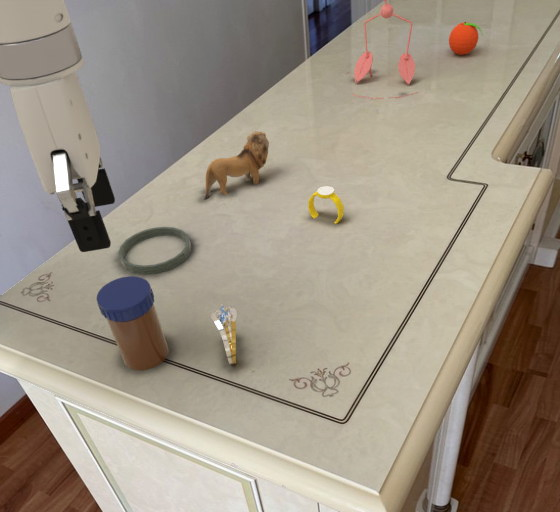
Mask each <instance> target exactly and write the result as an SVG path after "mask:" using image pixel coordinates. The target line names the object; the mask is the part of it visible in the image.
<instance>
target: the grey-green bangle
mask: <svg viewBox="0 0 560 512" xmlns="http://www.w3.org/2000/svg"><path fill="white" fill-rule="evenodd" d="M164 236H169V237H176V238H179V239H181V240H182V241H184V242H185V246H184V248H183V249H182V250H181V251H180V252H179V253H178V254H177V255H175V256H174V257H172V258H170V259H168V260H166V261H162V262H158V263H155V264H147V265H142V264H134V263H131V262H130V261H127V260H126V259H125V257H126V254H127V253H128V252H129V250H130V249H131V248H132V247H134V246H135V245H136V244H138V243H140V242H142V241H144V240H147V239H150V238H154V237H164ZM191 252H192V243H191V240H190V237H189V234H188V233H187V232H185V231H184V230H182V229H180V228H177V227H175V226H174V227H172V226H158V227H152V228H147V229H144V230H141V231H139V232H136V233H134V234H133V235H131V236H130V237H128V238H126V239H125V240H124V241H123V243H122V244H121V245H120V246H119V250H118V253H117V254H118V258H119V260H120V261H119V262H120V263H121V264H120V265H121V266H122V267H123V268H124V269H125V270H126V271H128V272H130V273H133V274H135V275H136V274H138V275H143V276H144V275H146V276H147V275H154V274H155V275H156V274H160V273H164V272H167V271H170V270H172V269H174V268H177V267H179V266H180V265H181V264H183V262H185V261H186V260H187V259H188V257H189V256H190V255H191Z"/></svg>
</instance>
